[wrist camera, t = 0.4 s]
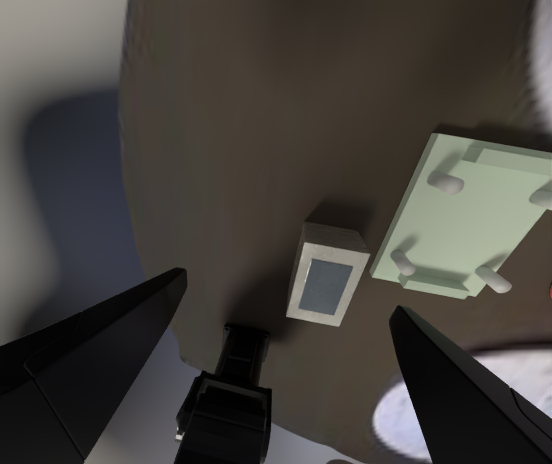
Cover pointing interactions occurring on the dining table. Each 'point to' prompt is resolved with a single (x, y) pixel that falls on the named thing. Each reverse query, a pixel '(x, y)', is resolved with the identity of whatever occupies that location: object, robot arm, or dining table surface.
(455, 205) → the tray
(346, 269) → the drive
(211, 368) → the dining table surface
